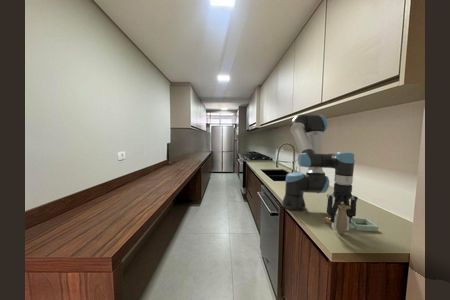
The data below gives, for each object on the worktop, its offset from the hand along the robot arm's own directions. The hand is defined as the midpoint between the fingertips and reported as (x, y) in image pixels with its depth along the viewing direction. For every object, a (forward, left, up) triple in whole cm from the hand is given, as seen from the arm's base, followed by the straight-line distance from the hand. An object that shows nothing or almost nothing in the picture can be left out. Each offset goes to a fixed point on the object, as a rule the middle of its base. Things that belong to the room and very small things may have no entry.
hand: (339, 228), depth 92 cm
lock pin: (-9, +1, -1) cm, 9 cm away
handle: (0, 0, -2) cm, 3 cm away
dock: (-9, +12, -2) cm, 15 cm away
